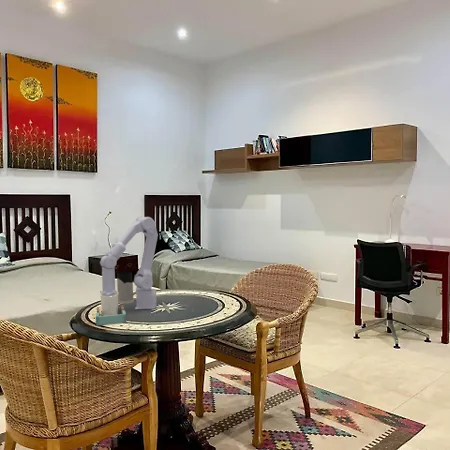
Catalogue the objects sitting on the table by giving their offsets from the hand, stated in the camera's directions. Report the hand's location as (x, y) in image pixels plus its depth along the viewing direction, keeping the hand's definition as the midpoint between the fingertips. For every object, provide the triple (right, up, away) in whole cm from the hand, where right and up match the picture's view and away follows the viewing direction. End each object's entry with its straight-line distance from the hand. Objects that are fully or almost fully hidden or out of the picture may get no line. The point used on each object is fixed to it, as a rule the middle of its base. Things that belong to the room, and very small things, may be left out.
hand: (109, 310), depth 208 cm
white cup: (+1, -1, -4) cm, 4 cm away
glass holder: (+5, 0, +25) cm, 26 cm away
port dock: (+5, -2, -15) cm, 16 cm away
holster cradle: (+1, -1, -2) cm, 3 cm away
